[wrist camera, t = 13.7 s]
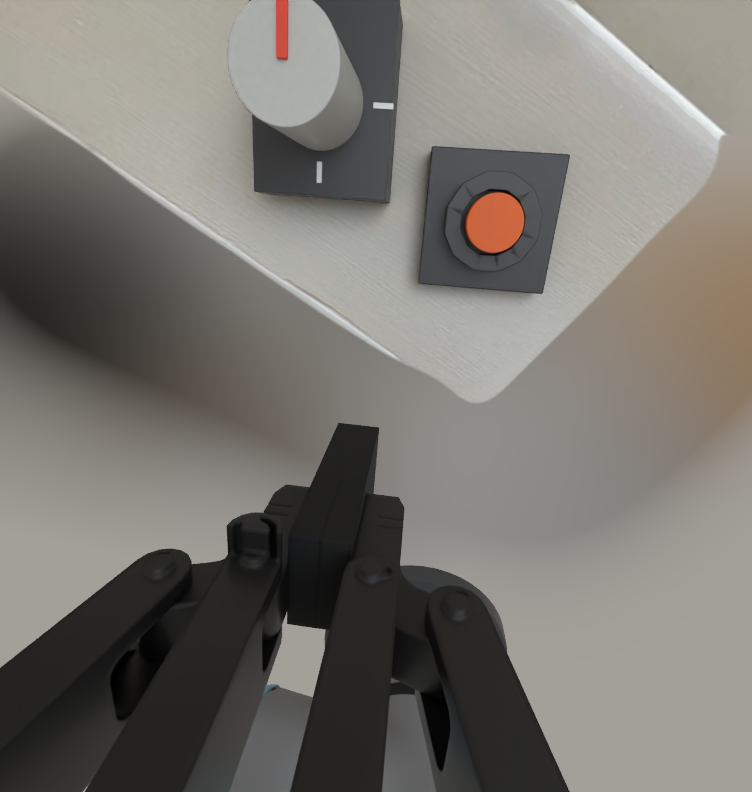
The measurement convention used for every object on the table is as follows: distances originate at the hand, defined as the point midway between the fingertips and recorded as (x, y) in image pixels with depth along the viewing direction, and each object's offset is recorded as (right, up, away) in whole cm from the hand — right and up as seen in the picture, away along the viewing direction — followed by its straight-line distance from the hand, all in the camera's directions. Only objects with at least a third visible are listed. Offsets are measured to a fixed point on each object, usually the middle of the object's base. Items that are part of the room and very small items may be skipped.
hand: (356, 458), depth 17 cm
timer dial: (-3, +23, +15) cm, 27 cm away
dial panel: (-3, +24, +19) cm, 31 cm away
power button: (+9, +15, +17) cm, 25 cm away
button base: (+10, +16, +20) cm, 28 cm away
